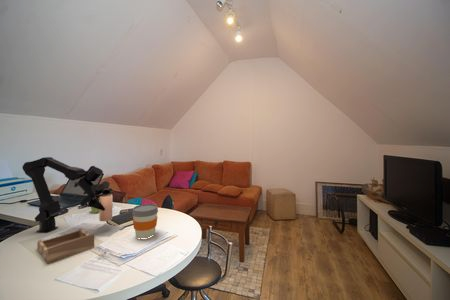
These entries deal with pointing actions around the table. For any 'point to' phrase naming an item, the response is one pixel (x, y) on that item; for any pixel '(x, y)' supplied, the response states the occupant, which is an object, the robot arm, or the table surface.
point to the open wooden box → (65, 245)
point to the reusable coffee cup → (145, 220)
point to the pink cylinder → (106, 207)
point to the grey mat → (106, 230)
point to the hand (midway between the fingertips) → (108, 208)
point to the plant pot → (95, 209)
